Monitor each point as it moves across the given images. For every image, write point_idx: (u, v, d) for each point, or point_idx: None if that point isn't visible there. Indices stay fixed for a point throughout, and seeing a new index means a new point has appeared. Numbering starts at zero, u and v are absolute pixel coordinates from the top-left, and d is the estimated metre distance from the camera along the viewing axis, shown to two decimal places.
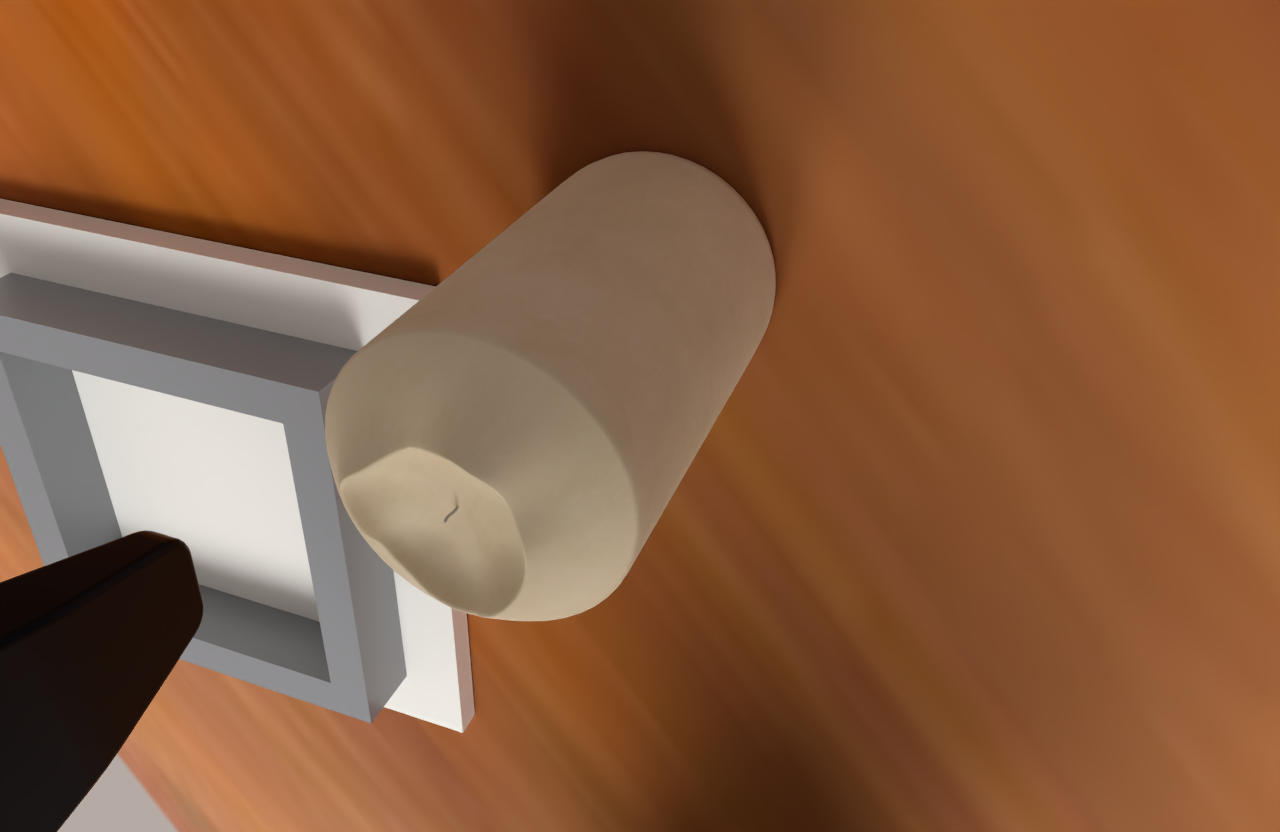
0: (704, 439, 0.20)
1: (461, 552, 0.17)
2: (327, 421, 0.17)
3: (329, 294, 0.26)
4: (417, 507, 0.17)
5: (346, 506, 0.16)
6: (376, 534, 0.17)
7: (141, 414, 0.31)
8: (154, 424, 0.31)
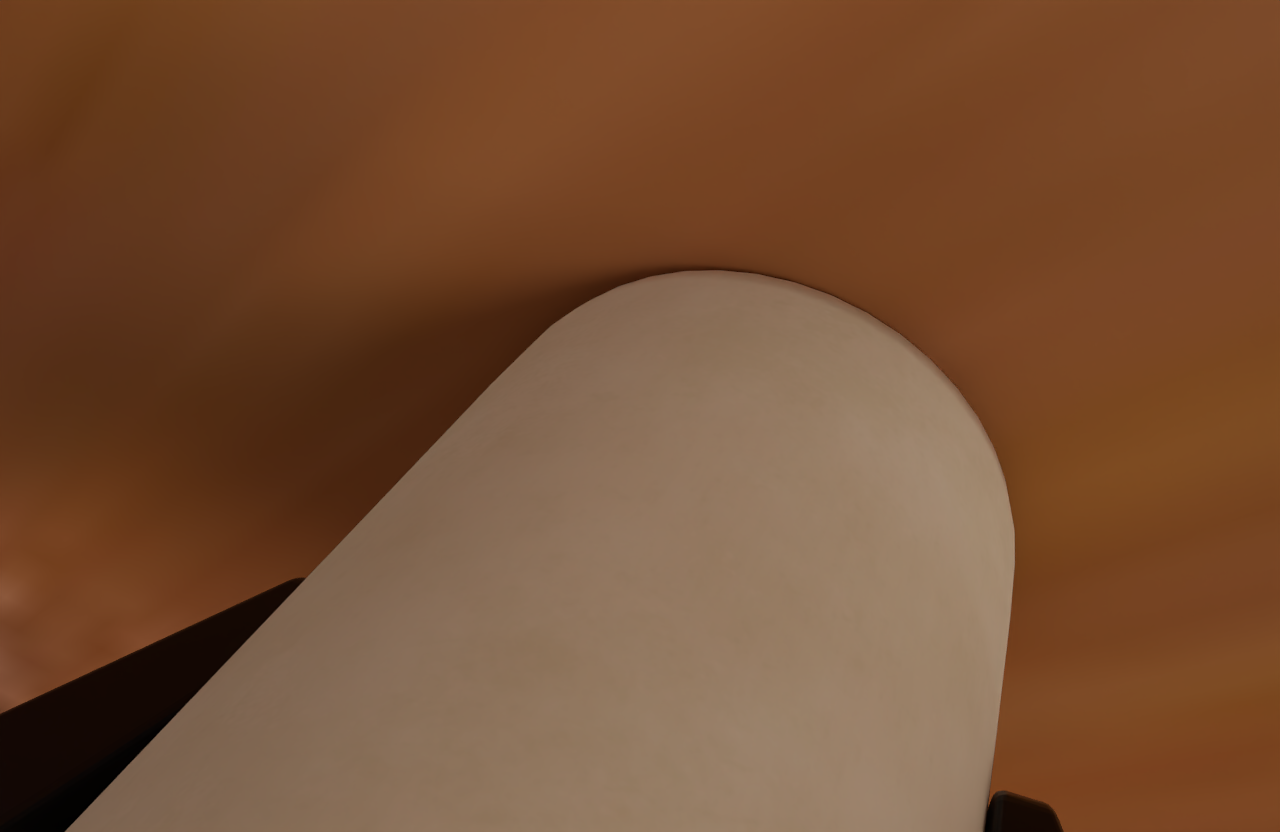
0: (708, 650, 0.06)
1: None
2: None
3: None
4: None
5: None
6: None
7: None
8: None
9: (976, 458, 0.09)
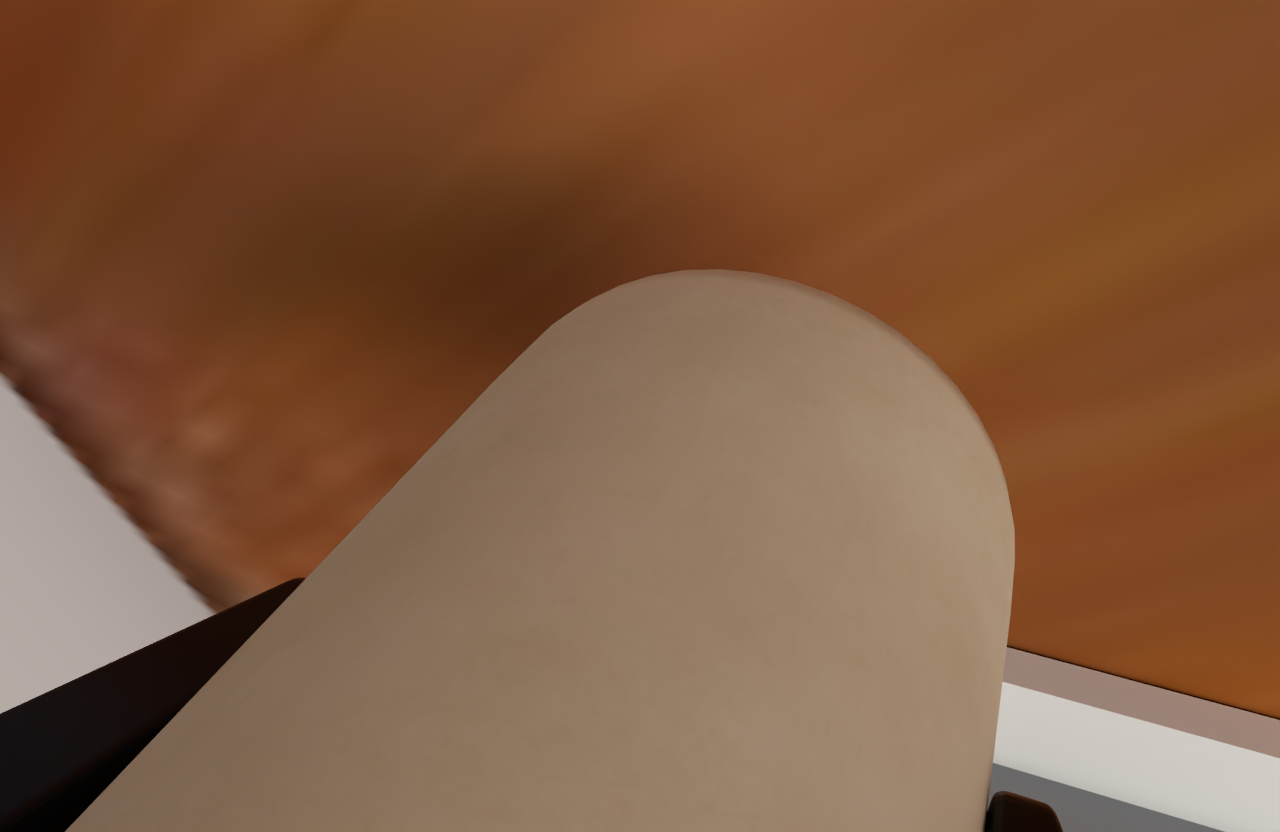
0: (709, 646, 0.06)
1: None
2: None
3: None
4: None
5: None
6: None
7: None
8: None
9: (977, 457, 0.09)
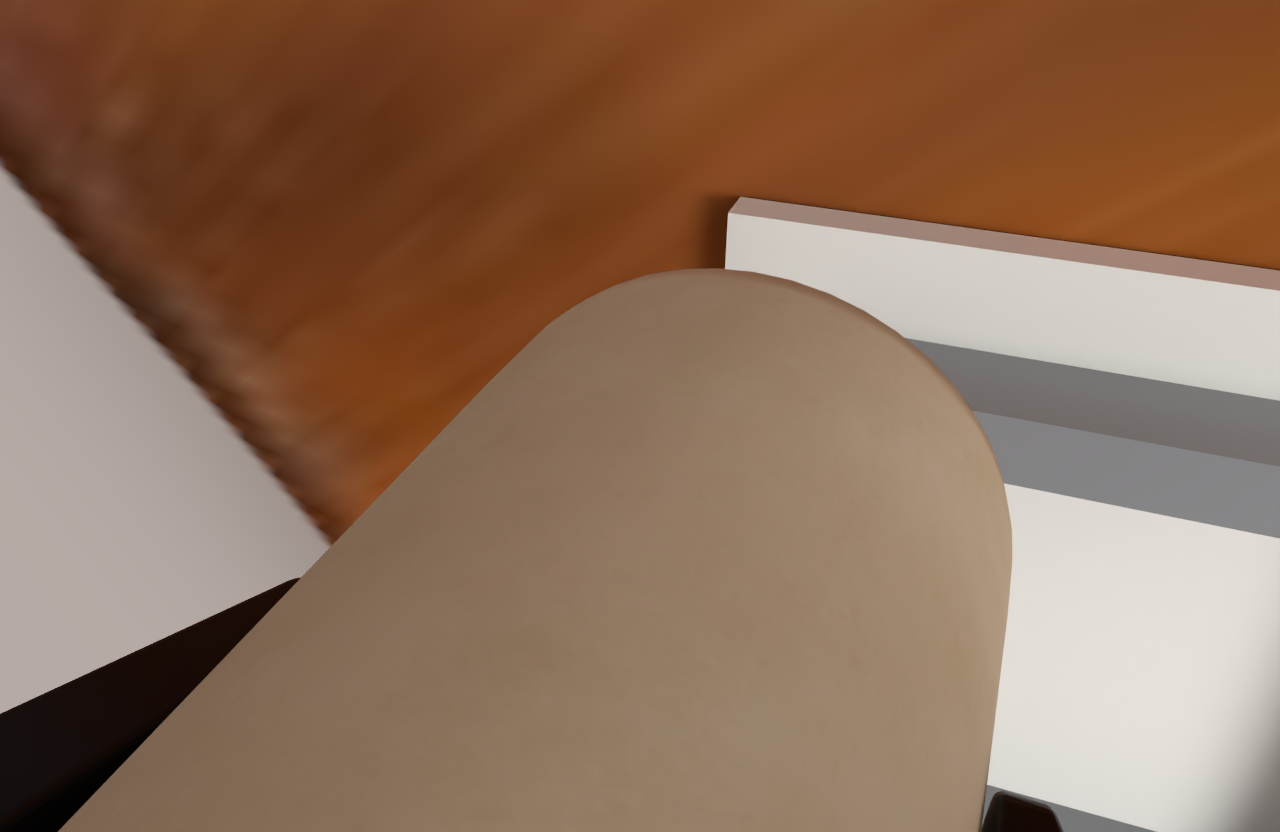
0: (704, 647, 0.06)
1: None
2: None
3: None
4: None
5: None
6: None
7: None
8: None
9: (973, 457, 0.09)
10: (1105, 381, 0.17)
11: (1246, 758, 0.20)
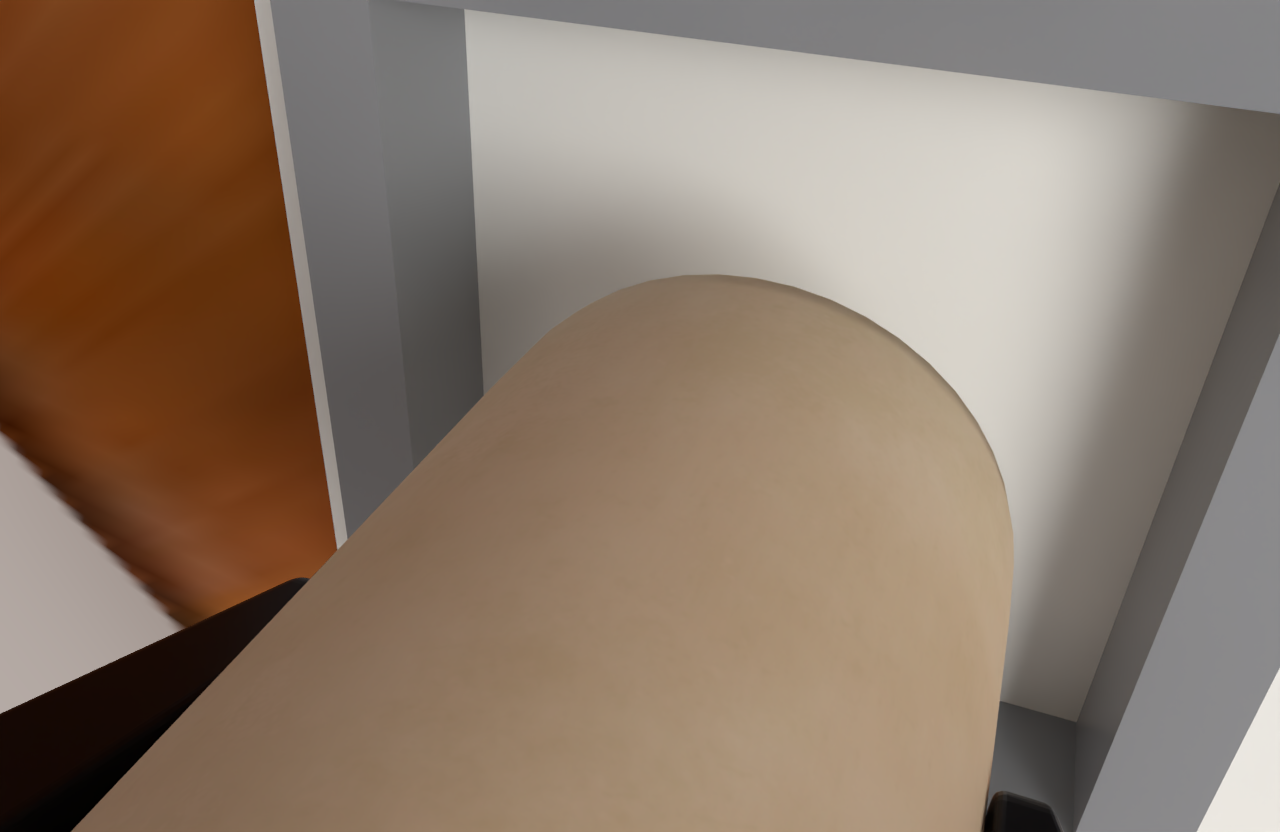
0: (707, 655, 0.06)
1: None
2: None
3: None
4: None
5: None
6: None
7: None
8: None
9: (975, 463, 0.09)
10: None
11: (1023, 554, 0.14)
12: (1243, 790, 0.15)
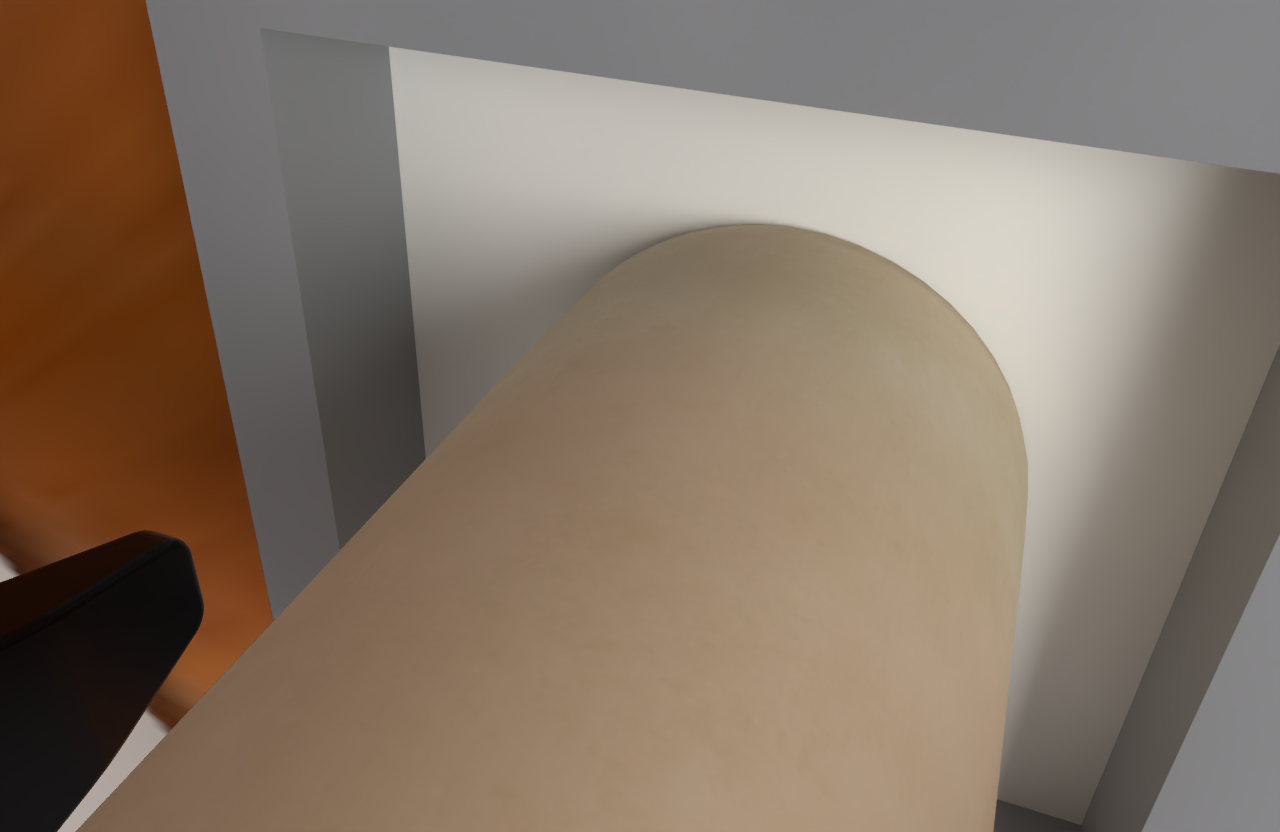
0: (770, 527, 0.07)
1: None
2: None
3: None
4: None
5: None
6: None
7: None
8: None
9: (994, 391, 0.10)
10: None
11: (1022, 646, 0.12)
12: None
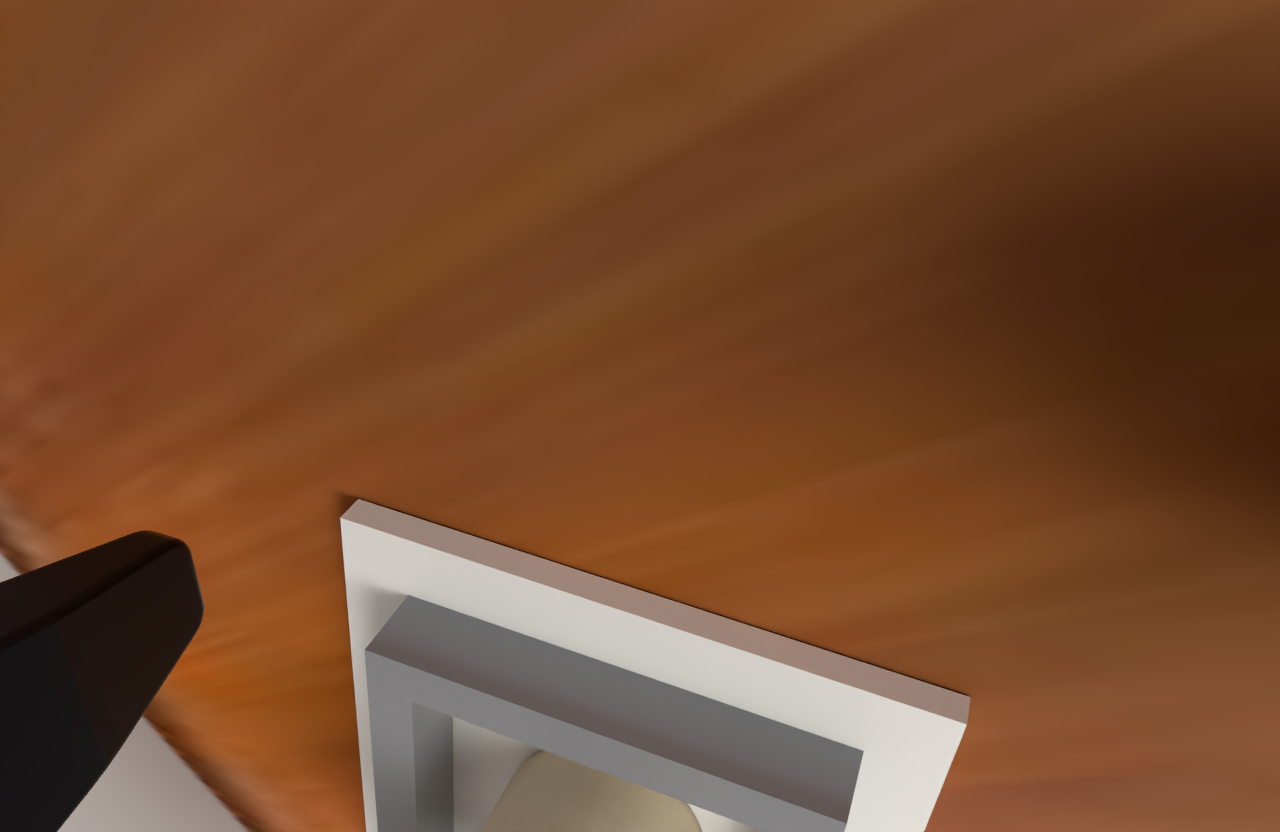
0: None
1: None
2: None
3: (358, 601, 0.27)
4: None
5: None
6: None
7: None
8: None
9: (683, 831, 0.26)
10: (578, 664, 0.25)
11: None
12: None
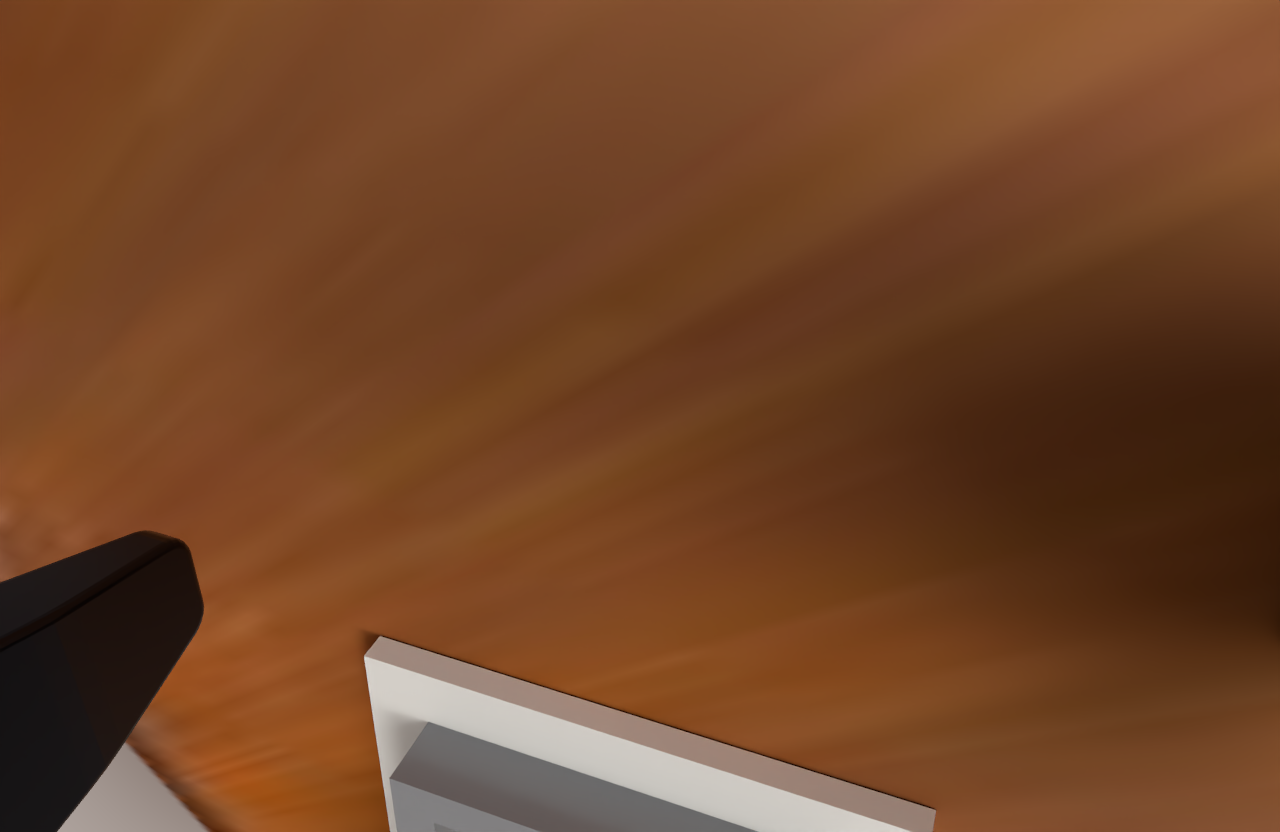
0: None
1: None
2: None
3: (384, 726, 0.30)
4: None
5: None
6: None
7: None
8: None
9: None
10: (582, 784, 0.28)
11: None
12: None
